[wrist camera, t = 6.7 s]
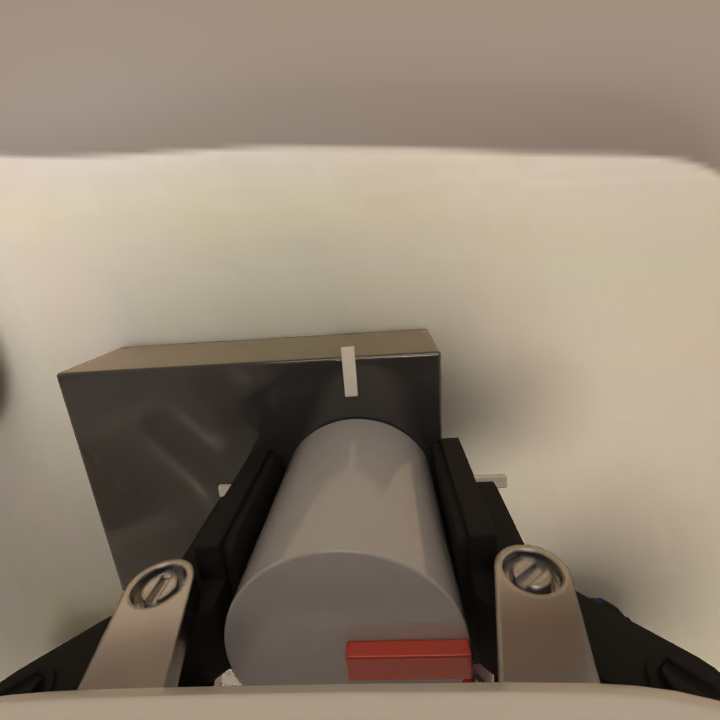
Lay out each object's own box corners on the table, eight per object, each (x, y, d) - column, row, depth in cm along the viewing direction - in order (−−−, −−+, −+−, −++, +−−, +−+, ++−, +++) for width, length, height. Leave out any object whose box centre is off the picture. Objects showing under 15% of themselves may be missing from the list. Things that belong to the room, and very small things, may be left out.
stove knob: (297, 548, 12) (240, 756, 7) (276, 422, 11) (191, 570, 6) (435, 543, 12) (476, 756, 7) (430, 413, 11) (474, 560, 6)
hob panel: (169, 537, 16) (121, 604, 13) (118, 339, 14) (46, 365, 11) (478, 529, 16) (502, 598, 13) (481, 316, 13) (512, 338, 10)
